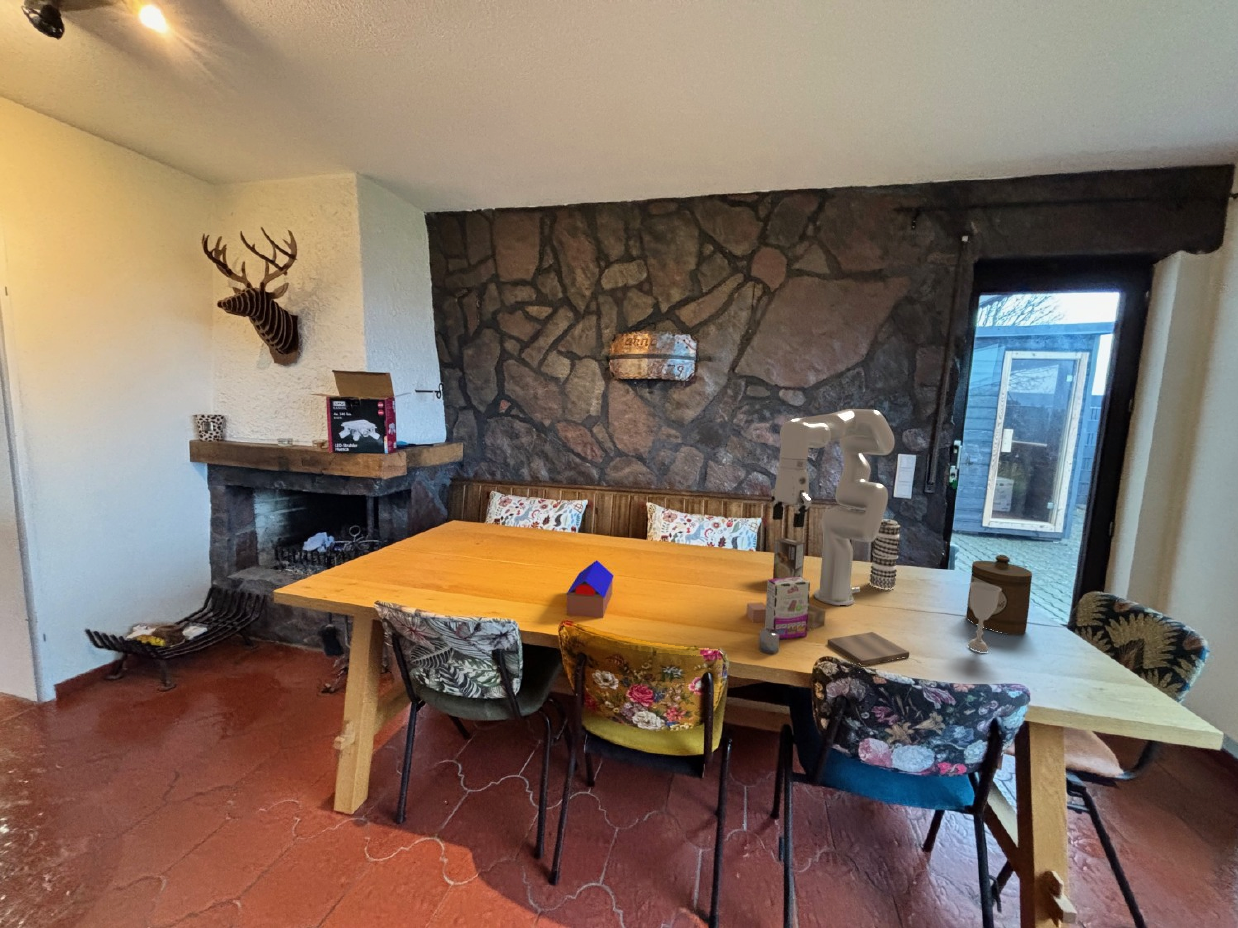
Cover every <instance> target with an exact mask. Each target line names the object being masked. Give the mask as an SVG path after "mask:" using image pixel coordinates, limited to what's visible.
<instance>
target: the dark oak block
mask: <svg viewBox="0 0 1238 928" xmlns="http://www.w3.org/2000/svg"><path fill="white" fill-rule="evenodd" d="M826 611H827V610H826V609H824V608H821V607H819V606H816V605H813V604H810V603H809V606H808V624H807V630H810V629H811V630H810V631H814V630H817V629H820V628H822V627H825V622H826Z"/></svg>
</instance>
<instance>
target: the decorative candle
mask: <svg viewBox="0 0 1238 928" xmlns="http://www.w3.org/2000/svg"><path fill="white" fill-rule="evenodd" d="M900 527H901V525H900V524H899V523H898V521H896V520H894V519H889V518H883V519H882V522H881V526H880V529H879V532H878V535H877V537H876V539H875V540H874V541H872V544H871V546H872V550H871V552H872V555H873V557H872V559H873V560H872V563H871V566H870V569H871V570H870V573H871V574H869V577H870V578H869V583H870V582H871V585H872V586H878V587H881V588H884V589H885V588H890V589H891V588H892V587H894V586H896V581H897V579H896V577H897V559H899V554H900V553H899V551H900V548H898V547H899V546H901V543H900V542H901V541H902V539H900V529H901V528H900ZM872 586H871V587H872Z"/></svg>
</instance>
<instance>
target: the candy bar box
mask: <svg viewBox="0 0 1238 928" xmlns="http://www.w3.org/2000/svg"><path fill="white" fill-rule="evenodd" d="M766 580H767V581H766V582H767V583H766V601H765V603H766V604H765V606H766V617H765V621H764V628H770V629H774V630H776V631H778V632H779V641H781V640H789V639H797V638H805V637H807V636H808V628H807V624H808V606H809V604H810V591H811V589H810V588H811V581H809V580H807V579H805V578H804V577H803V578H802V577H790V578H779V579H773V578H771V579H766Z"/></svg>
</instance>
